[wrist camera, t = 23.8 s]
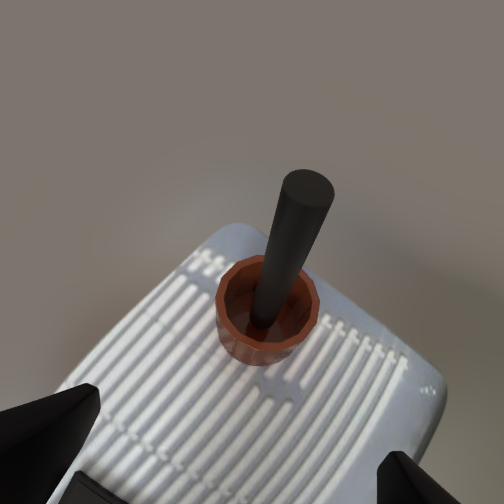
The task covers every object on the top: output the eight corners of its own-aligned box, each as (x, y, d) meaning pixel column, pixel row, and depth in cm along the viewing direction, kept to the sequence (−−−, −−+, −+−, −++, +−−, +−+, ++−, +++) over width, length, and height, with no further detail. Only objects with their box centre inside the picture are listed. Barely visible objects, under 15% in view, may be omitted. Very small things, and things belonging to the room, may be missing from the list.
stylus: (265, 339, 21) (327, 215, 9) (243, 329, 21) (274, 192, 9) (275, 319, 22) (340, 181, 10) (253, 308, 22) (294, 161, 10)
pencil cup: (280, 380, 20) (297, 368, 16) (201, 341, 21) (196, 319, 17) (312, 309, 23) (333, 281, 19) (239, 275, 24) (244, 240, 20)
